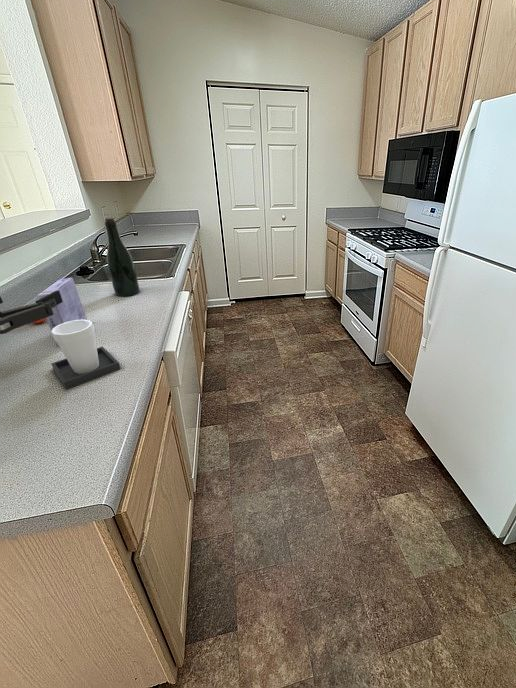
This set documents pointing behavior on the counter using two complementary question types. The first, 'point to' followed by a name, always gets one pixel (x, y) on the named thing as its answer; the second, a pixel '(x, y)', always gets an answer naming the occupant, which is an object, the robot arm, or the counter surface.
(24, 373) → the counter surface
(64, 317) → the cake pan box
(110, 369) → the shallow black tray
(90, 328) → the foam cup
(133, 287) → the beer bottle
